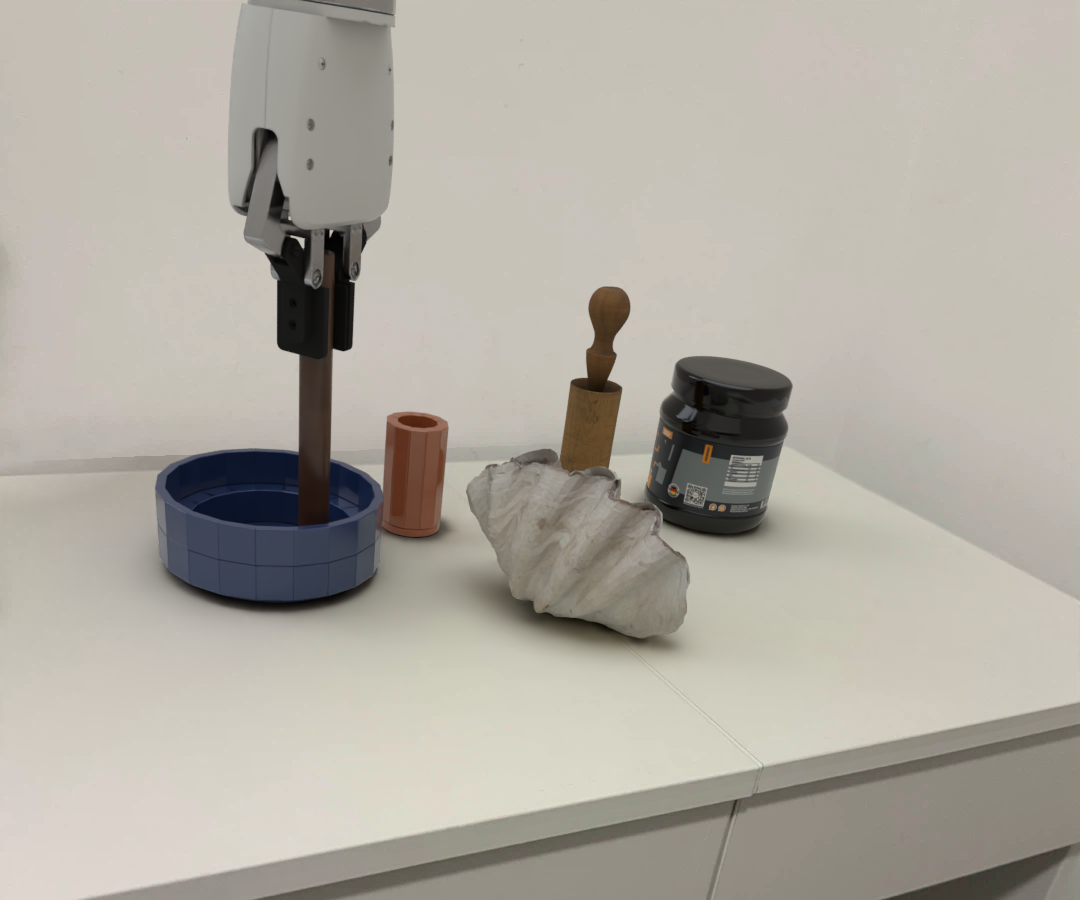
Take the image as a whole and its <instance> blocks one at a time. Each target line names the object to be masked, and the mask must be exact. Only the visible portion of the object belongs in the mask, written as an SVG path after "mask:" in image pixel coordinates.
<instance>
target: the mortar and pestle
mask: <svg viewBox="0 0 1080 900" xmlns="http://www.w3.org/2000/svg"><path fill="white" fill-rule="evenodd" d="M630 300H631V299H630V297H629V295H628V294H627V292H626V291H625V290H624V289H623V288H621V287H618V286H607V285H606V286H601V287H598V288H597V289H596V290H594V292H592V294H591V297H590V298H589V301H588V307H587V309H588V315H589V316H588V317H589V319H590V322H591V325H592V328H593V332H594V336H593V337H594V338H593V342H592V344H591V346H590V347H588V348H587V349H586V350H585V365H586V366H585V367H586V375H587V376H586V377H577V378H574V379H571V381H570V383H569V391H568V398H567V406H566V413H565V421H564V427H563V433H562V434H563V435H562V442H561V448H560V455H559V459H560V462H561V467H562V469H564V470H568V471H569V473H572V472H573V471H575V470H578V471H584V470H586V469H588V468H591V467H596V466H599V467H606V468H608V469H610V464H611V457H612V450H613V444H614V439H615V435H616V434H615V433H616V428H617V422H618V418H619V417H618V416H619V410H620V406H621V401H622V400H621V399H622V395H623V386H622V385H620V384H619V383H617V382H615V381H612V380H610V379H609V377H610V375H611V373H612V371H613V368H614V366H615V363H616V361H617V357H618V353H617V352H616V351H615V349H614V341H615V338H616V336H617V334H618V333H619V332H620V331H621V329H622V328H623V326H624V325H626V322H627V320H628V319H629V317H630V314H631V301H630Z"/></svg>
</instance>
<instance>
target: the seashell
mask: <svg viewBox="0 0 1080 900" xmlns="http://www.w3.org/2000/svg"><path fill="white" fill-rule="evenodd" d="M465 494H466V498H467V503H468V505H469V509H470V512H471V513H472V515H473V516H474V517H475V518H476V520H477V521H478V524H479V526H480V529H481V531H482V533H483V534H484V536H485V537H486V538H487V540H488V541H489V543H490V545H491V547H492V549H493V550H494V553H495V555H496V561H497V564H498V566H499V568H500V570H501V571H502V572H503V574H504V575H506V577H507V578H508V587H509V590H510V593H511V596H512V597H513V598H515V599H517V600H520V601H531V602H532V603H533V610H534V611H535V613H536V614H543V613H548V614H550V615H552V616H553V617H555V618H556V617H557V618H571V619H573V618H574V619H575V618H576V619H581V620H583V621H587V622H593V623H597V624H601V625H603V626H606V627H607V628H609V629H612V630H613V631H616V632H618V633H620V634H622V635H625V636H627V637H632V638H636V639H646V638H648V637H649V638H650V637H652V636H657V635H671V634H674V633H675V632H677V631H678V630H679V628H680V627H681V626H683V624H684V620H685V616H686V615H687V614H688V602H687V590H688V588H689V586H690V584H691V572H690V566H689V563H688V560H687V558H686V557H685V556H684V555H683V554H682V553H681V552H680V551H678V550H675V549H673V548H672V547H671V546H670V545H669V544H668V543H667V542H666V541H664V540H663V538H662V537H660V535H659V534H660V532H661V528H662V526H663V521H664V520H663V519H664V518H663V516H662V512H661V511H660V510H659V509H658V508H657V506H655V505H654V504H652V503H650V502H647V501H638V502H629V501H627V500H624V499H621V495H622V479H621V478H620V477H618V475H617V473H616V471H614V470H612V469H610V468H609V469H608V468H606V467H599V466H596V467H591V468H588V469H586V470H584V471H578V470H575V471H573V472H572V473H569V471H568V470H564V469H562V467H561V462H560V456H559V455H558V452H557V451H555V450H554V449H552V448H541V449H540V448H539V449H536V450H531V451H528V452H525V453H522V454H520V455H518V456H516V457H510V459H509V461H504V462H503V463H502V464H500V463H493V462H492V463H491V462H490V463H488V464H486V466H485V467H484V469H483V470H482V472H481V473H479V475H477V476H474V477H473V478H472V479H471V480H470V481H469V482H468V483H467V487H466V489H465Z"/></svg>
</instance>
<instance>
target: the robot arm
mask: <svg viewBox="0 0 1080 900" xmlns="http://www.w3.org/2000/svg"><path fill="white" fill-rule="evenodd" d="M396 12H397V0H247V3H244V2H241V5H240V10H239V15H238V20H237V26H236V33H235V39H234V46H233V54H232V66H231V76H230V87H229V88H230V91H229V109H228V133H227V134H228V135H227V192H228V200H229V204H230V207H231V208H232V210H233V211H234V212H235V213H236V214H237V215H240V216H243V217H246V219H245V223H244V228H243V238H244V241H245V242H246V243H247V244H249V245H250V246H252V247H253V248H256V250H258V251H260V252H262V253H264V255H265V257H266V258H267V260H268V261H269V263H270V266H269V267H270V275H271V277H272V279H274V280H276V345H277V347H278V349H279V350H281V351H283V352H288V353H291V354H295V355H298V356H299V355H303V356H306V357H310V358H314V359H322V358H325V357H326V356H327V353H328V323H329V288H326V287H322V286H321V284H322V281H323V263H324V249H326V250H330V251H332V252H334V253H335V283H334V327H333V350H336V351H339V352H347V351H350V350H351V349H352V348H353V345H354V323H355V322H354V320H355V319H354V317H355V297H356V295H355V294H356V281H357V280H359V278H360V275H361V269H362V253H363V251H364V249H365V248H366V245H367V242H368V241H369V240H370V239H371V238H372V237H373V236H374V235H375V234H376V233H377V232H378V231H379V230H380V228H381V224H382V217H381V216H382V215H383V214H384V213H385V212H386V210H387V209H388V207H389V203H390V198H391V197H390V196H391V189H392V178H393V168H394V167H393V166H394V165H393V164H394V145H395V144H394V143H395V140H394V139H395V86H394V85H395V84H394V83H395V81H394V55H393V43H392V28H396ZM289 217H290V218H289ZM331 231H332V232H331ZM297 238H300V239H304V241H303V246H302V245H301V243H300V241H299V239H297ZM303 248H304V250H303Z"/></svg>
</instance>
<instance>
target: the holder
mask: <svg viewBox="0 0 1080 900" xmlns="http://www.w3.org/2000/svg"><path fill="white" fill-rule="evenodd" d="M449 430H450V429H449V422H448V421H447V420H446V419H444V418H442V417H441V416H439V415H434V414H430V413H428V412H427V413H426V412H419V411H397V412H393V413H391V414H388V415H387V416H386V423H385V437H384V438H385V439H384V458H383V474H382V476H383V477H382V493H383V497H384V503H383V521H382V529H384V530H386V531H388V532H389V533H391V534H395V535H398V536H401V537H402V536H403V537H409V538H410V537H411V538H421V537H428V536H432V535H434V534H436V533H437V532H438V531H439V530H440V526H441V517H442V508H443V497H444V496H443V495H444V484H445V474H446V461H447V452H448V451H447V449H448V439H449Z"/></svg>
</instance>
